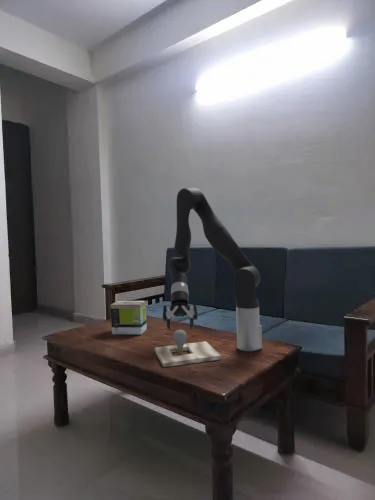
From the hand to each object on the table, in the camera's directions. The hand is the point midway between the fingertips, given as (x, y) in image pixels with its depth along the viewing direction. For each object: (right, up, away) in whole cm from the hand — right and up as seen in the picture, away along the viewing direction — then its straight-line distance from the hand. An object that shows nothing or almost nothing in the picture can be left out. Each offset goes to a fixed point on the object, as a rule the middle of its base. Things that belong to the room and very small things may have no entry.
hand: (180, 328), depth 143 cm
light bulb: (0, -10, -2) cm, 10 cm away
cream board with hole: (+2, -10, -3) cm, 10 cm away
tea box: (-26, -9, +32) cm, 42 cm away
